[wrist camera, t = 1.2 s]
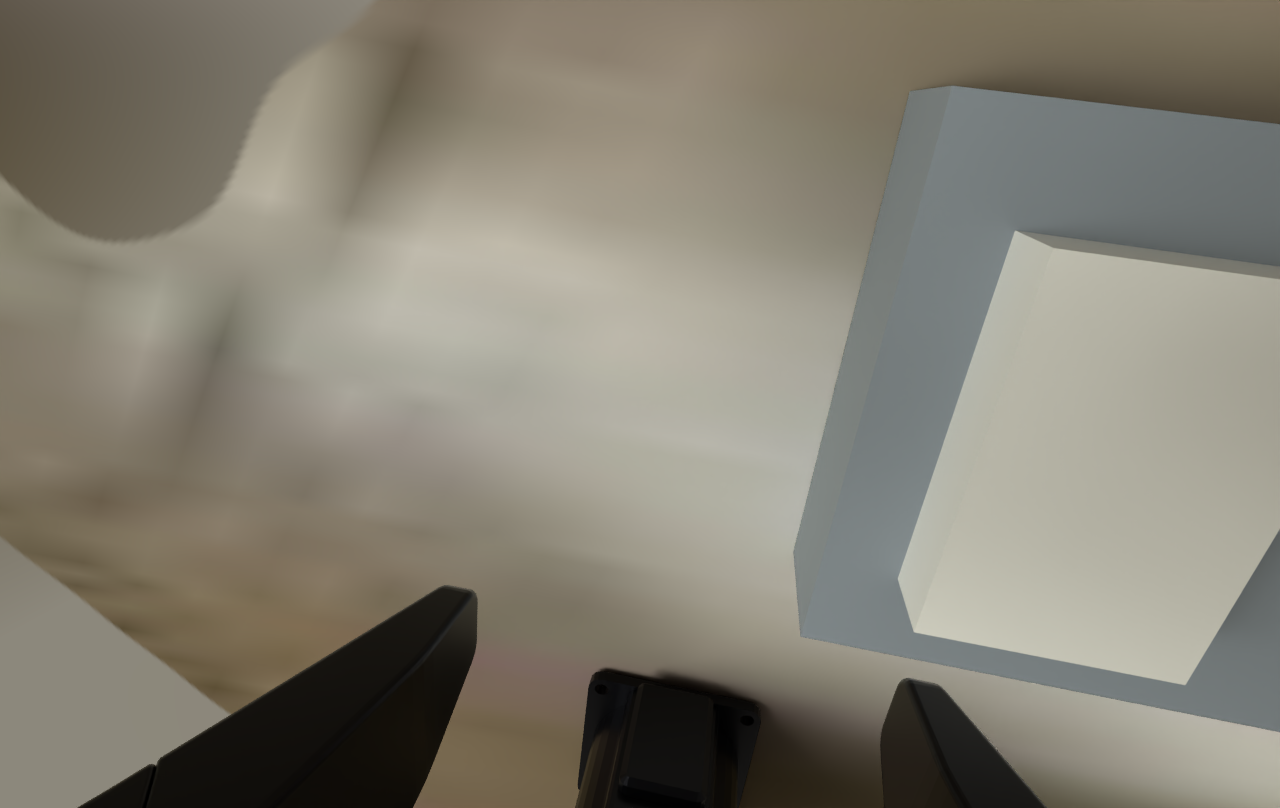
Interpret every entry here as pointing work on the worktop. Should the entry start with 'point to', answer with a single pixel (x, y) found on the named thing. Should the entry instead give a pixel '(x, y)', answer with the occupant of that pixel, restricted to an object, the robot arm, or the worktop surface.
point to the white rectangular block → (1105, 459)
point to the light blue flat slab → (950, 328)
